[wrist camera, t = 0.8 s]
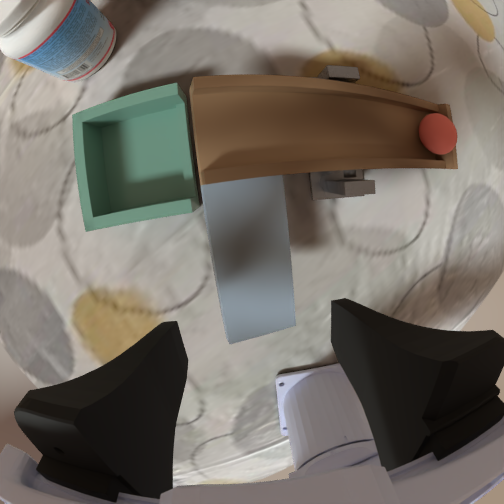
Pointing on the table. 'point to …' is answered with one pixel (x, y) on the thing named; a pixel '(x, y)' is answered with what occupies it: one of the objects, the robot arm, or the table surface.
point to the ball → (437, 133)
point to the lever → (286, 162)
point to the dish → (135, 158)
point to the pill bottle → (56, 36)
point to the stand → (334, 181)
